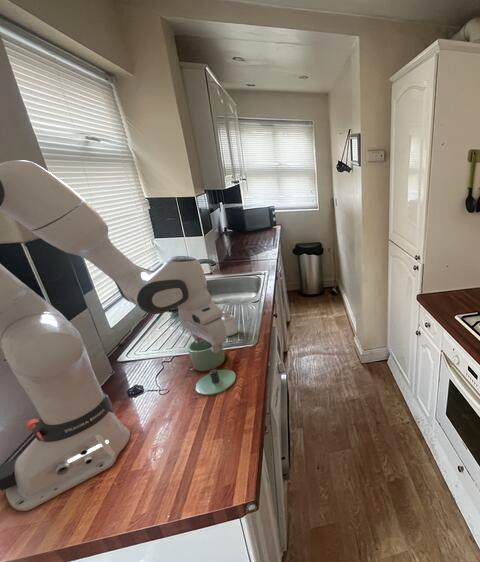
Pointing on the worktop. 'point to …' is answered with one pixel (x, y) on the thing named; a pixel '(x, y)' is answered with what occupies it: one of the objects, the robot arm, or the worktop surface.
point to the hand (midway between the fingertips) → (207, 347)
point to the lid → (215, 382)
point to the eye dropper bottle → (229, 323)
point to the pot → (205, 356)
